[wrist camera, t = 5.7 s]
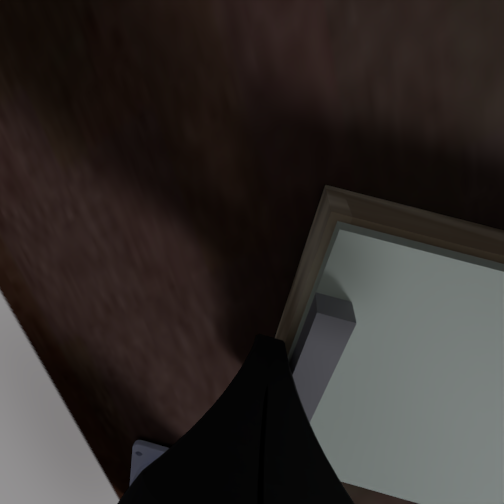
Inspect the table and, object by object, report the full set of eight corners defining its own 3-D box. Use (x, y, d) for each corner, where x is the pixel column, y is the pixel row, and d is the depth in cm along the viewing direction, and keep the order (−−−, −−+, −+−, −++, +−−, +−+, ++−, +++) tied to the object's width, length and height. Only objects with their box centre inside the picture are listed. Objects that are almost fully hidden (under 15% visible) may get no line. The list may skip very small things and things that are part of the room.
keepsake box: (447, 436, 18) (475, 503, 15) (259, 384, 19) (250, 439, 16) (594, 253, 13) (683, 302, 10) (325, 184, 13) (331, 211, 10)
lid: (476, 504, 15) (496, 553, 14) (256, 441, 15) (250, 482, 14) (679, 309, 10) (751, 351, 8) (337, 221, 10) (343, 244, 9)
